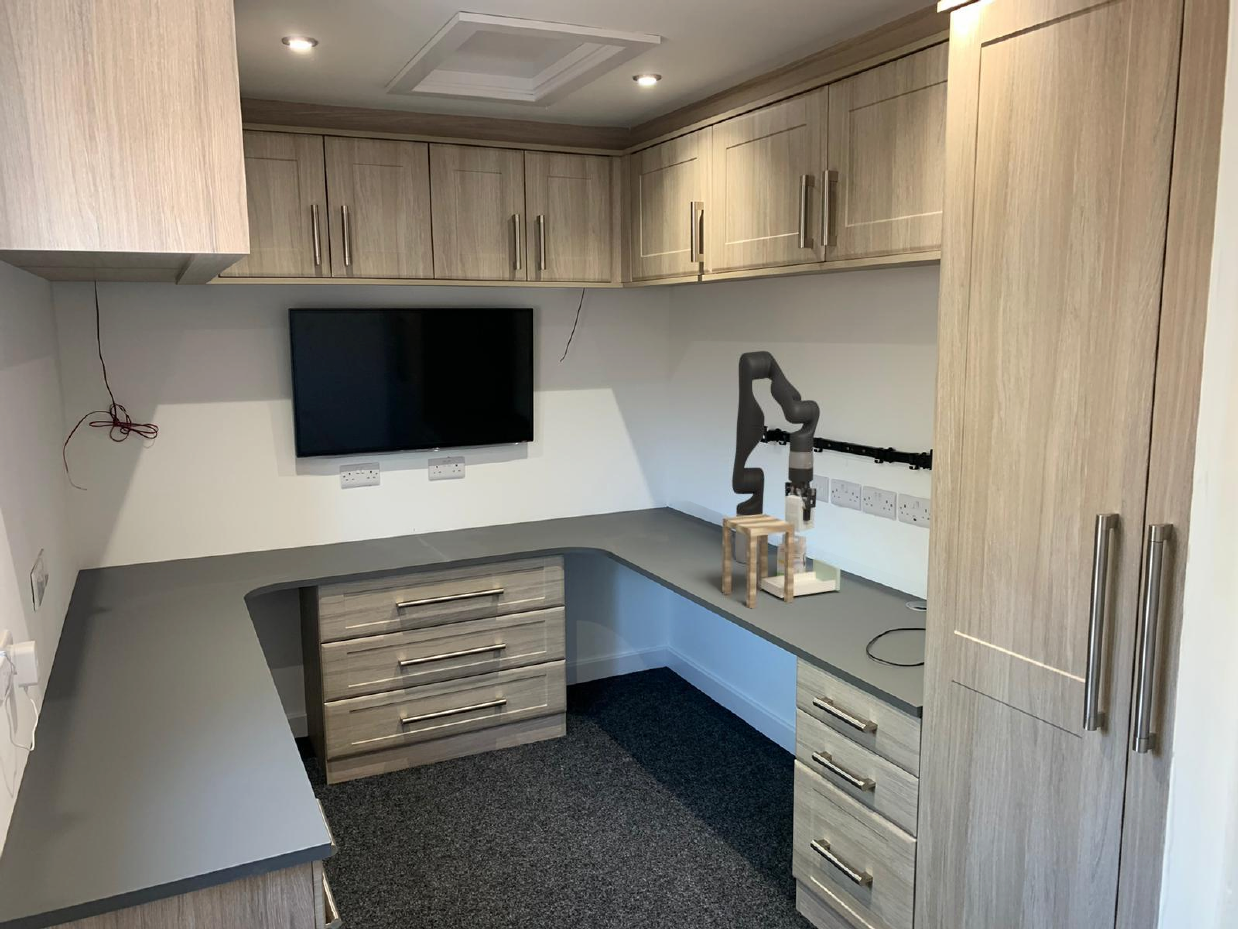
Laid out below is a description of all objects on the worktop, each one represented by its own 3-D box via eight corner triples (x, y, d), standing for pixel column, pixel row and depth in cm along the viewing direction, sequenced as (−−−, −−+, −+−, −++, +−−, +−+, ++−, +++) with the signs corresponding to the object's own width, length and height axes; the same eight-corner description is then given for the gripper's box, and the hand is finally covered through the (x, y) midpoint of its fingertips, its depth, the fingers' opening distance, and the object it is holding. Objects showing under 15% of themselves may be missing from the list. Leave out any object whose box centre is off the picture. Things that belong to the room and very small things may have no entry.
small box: (799, 525, 294) (800, 492, 292) (814, 528, 289) (815, 494, 288) (784, 529, 288) (784, 496, 286) (799, 532, 284) (799, 498, 282)
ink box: (775, 580, 305) (776, 536, 302) (780, 576, 309) (781, 533, 307) (801, 583, 301) (802, 539, 298) (806, 579, 305) (807, 535, 303)
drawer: (759, 587, 294) (759, 565, 293) (815, 579, 302) (816, 558, 301) (782, 598, 282) (782, 576, 281) (839, 590, 290) (840, 568, 289)
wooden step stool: (722, 593, 291) (722, 518, 287) (763, 587, 297) (764, 513, 293) (750, 608, 276) (750, 529, 272) (793, 602, 281) (794, 524, 278)
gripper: (777, 462, 291) (776, 514, 293) (803, 469, 278) (802, 524, 280) (798, 461, 294) (797, 512, 296) (824, 468, 280) (823, 521, 283)
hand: (799, 518), depth 288 cm, fingers closed on small box, 7 cm apart
